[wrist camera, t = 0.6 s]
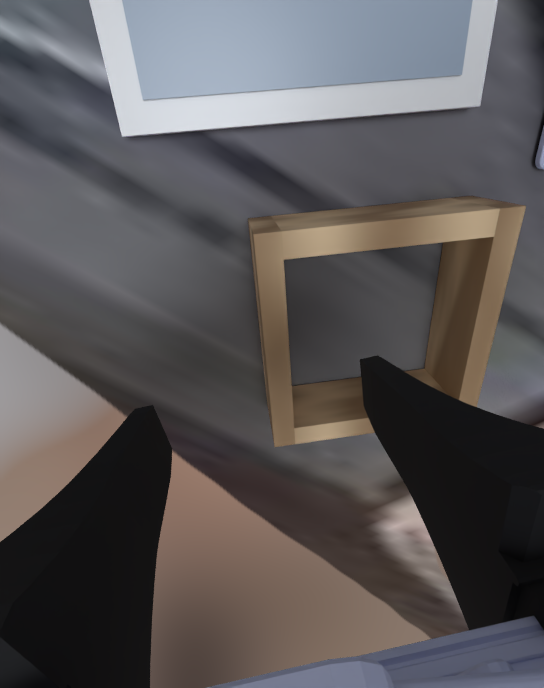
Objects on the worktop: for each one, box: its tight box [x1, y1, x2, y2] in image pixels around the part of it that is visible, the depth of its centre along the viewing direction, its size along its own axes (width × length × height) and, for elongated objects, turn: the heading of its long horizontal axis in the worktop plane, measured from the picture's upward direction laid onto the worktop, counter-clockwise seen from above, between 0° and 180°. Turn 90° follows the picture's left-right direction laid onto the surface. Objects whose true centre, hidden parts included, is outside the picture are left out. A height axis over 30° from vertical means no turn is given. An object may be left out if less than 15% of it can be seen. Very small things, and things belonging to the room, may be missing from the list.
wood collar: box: [248, 196, 526, 447], centre depth 20 cm, size 12×12×4 cm
